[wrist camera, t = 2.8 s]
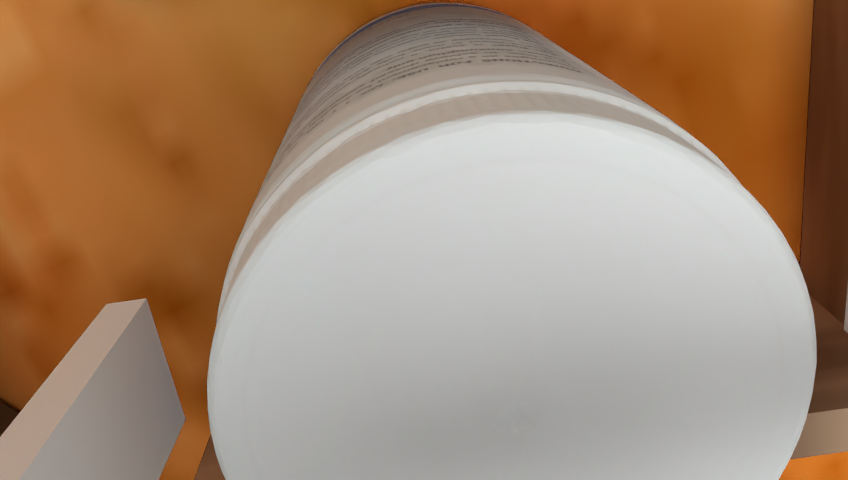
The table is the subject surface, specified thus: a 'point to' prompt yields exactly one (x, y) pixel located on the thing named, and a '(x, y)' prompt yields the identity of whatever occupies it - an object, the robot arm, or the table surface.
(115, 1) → the table surface
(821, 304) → the walnut box
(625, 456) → the supplement tub
